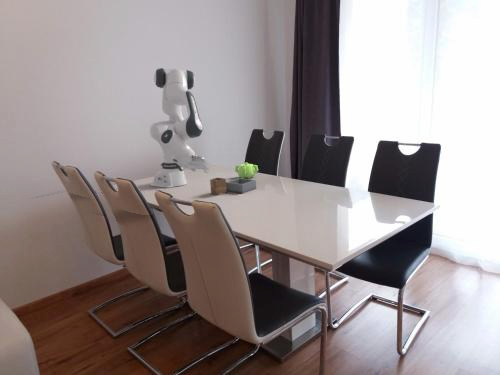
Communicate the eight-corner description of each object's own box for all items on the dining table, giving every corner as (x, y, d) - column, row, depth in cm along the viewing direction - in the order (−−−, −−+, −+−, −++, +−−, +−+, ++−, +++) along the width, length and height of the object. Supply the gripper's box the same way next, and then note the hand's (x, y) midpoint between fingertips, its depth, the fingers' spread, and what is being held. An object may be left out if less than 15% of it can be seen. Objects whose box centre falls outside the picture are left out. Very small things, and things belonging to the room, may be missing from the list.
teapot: (259, 177, 260) (258, 162, 257) (244, 180, 254) (243, 165, 252) (249, 175, 269) (248, 160, 267) (234, 177, 264) (233, 162, 261)
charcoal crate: (226, 190, 230) (225, 182, 229) (239, 186, 239) (239, 178, 238) (242, 193, 223) (242, 184, 222) (256, 188, 232) (255, 180, 231)
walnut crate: (211, 193, 226) (210, 179, 224) (218, 191, 230) (217, 177, 228) (219, 195, 222) (218, 180, 220) (226, 192, 226) (225, 178, 224)
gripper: (203, 151, 198) (218, 167, 208) (175, 149, 211) (190, 164, 220) (197, 162, 196) (213, 178, 206) (169, 159, 208) (185, 174, 218)
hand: (201, 171), depth 213 cm, fingers open, 8 cm apart
